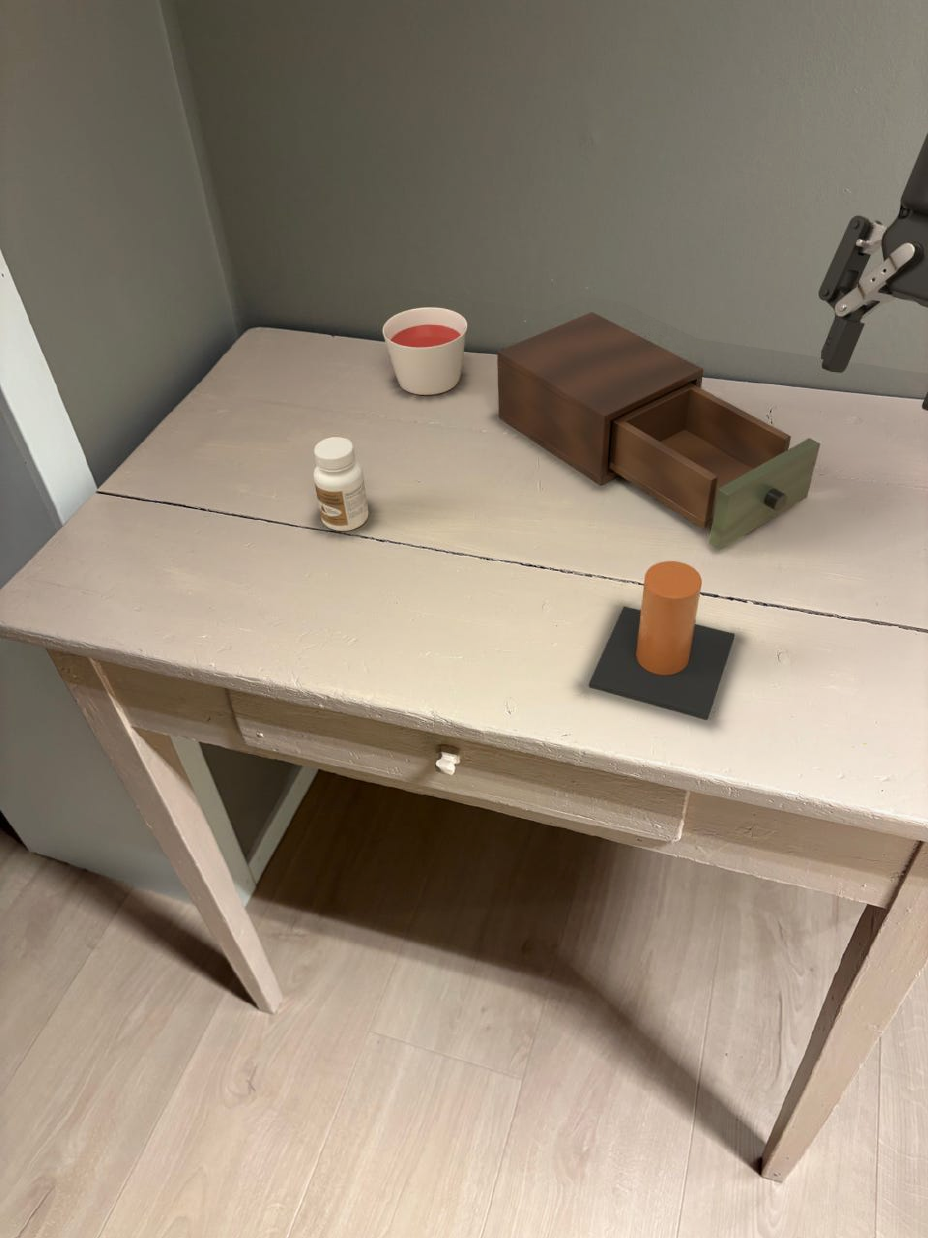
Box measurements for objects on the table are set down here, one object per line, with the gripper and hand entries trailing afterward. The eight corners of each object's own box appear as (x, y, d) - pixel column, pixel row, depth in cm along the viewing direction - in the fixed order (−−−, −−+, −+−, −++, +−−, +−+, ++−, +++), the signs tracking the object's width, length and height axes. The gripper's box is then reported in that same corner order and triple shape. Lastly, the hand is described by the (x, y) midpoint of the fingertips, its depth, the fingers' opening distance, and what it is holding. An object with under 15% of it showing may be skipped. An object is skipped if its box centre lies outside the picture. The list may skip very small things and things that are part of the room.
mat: (734, 637, 75) (734, 633, 75) (707, 720, 70) (708, 715, 69) (623, 610, 78) (623, 605, 78) (589, 687, 72) (589, 682, 72)
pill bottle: (312, 519, 89) (298, 449, 84) (347, 497, 91) (335, 427, 86) (343, 538, 87) (331, 468, 81) (378, 515, 89) (369, 445, 84)
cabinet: (694, 436, 96) (703, 368, 90) (600, 485, 91) (604, 416, 85) (589, 376, 105) (592, 311, 100) (498, 417, 100) (496, 351, 95)
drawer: (817, 503, 86) (832, 449, 82) (730, 557, 81) (740, 502, 77) (688, 430, 95) (695, 377, 91) (603, 473, 90) (606, 421, 86)
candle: (373, 392, 105) (367, 339, 100) (412, 353, 110) (407, 301, 106) (447, 408, 102) (444, 354, 97) (483, 367, 107) (481, 314, 103)
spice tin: (694, 645, 74) (707, 567, 69) (681, 681, 72) (694, 603, 66) (644, 632, 76) (653, 555, 70) (629, 667, 73) (637, 590, 68)
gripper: (863, 114, 64) (771, 355, 71) (1072, 150, 54) (941, 424, 61) (922, 137, 68) (830, 362, 75) (1125, 174, 58) (997, 428, 66)
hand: (880, 390), depth 68 cm, fingers open, 8 cm apart
